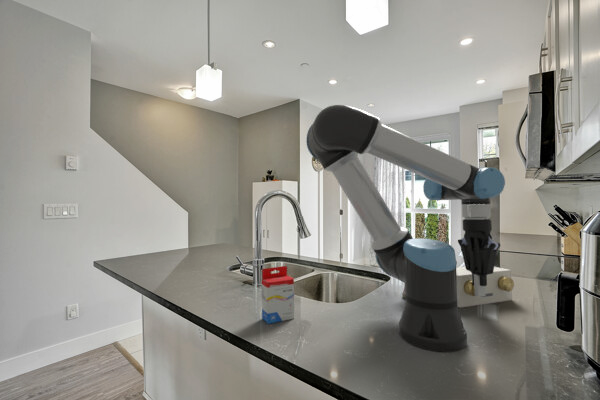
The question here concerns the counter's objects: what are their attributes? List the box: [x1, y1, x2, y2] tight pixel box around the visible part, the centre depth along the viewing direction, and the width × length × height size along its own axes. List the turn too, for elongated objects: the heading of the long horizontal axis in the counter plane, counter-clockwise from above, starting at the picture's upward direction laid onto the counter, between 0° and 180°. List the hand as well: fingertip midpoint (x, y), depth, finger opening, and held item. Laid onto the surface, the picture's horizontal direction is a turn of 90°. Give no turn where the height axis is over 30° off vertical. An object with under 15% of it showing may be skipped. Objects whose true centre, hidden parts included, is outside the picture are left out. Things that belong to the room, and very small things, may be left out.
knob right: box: [498, 277, 515, 292], centre depth 94 cm, size 4×9×4 cm, turn 16°
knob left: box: [463, 280, 475, 296], centre depth 90 cm, size 4×9×4 cm, turn 16°
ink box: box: [261, 265, 295, 325], centre depth 81 cm, size 8×5×15 cm, turn 117°
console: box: [456, 265, 513, 309], centre depth 94 cm, size 22×9×10 cm, turn 106°
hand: (480, 295), depth 84 cm, fingers closed
